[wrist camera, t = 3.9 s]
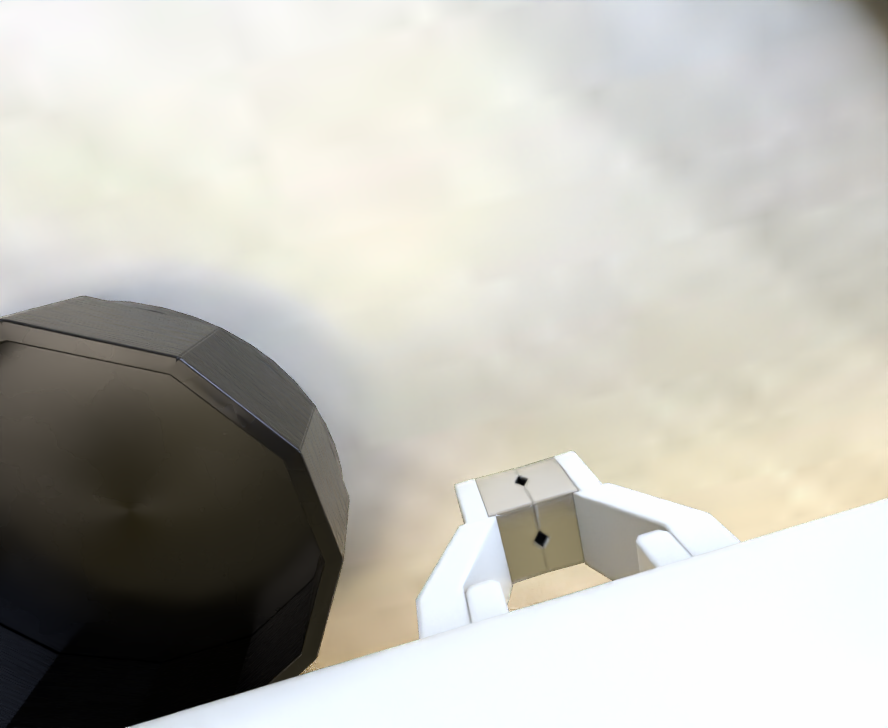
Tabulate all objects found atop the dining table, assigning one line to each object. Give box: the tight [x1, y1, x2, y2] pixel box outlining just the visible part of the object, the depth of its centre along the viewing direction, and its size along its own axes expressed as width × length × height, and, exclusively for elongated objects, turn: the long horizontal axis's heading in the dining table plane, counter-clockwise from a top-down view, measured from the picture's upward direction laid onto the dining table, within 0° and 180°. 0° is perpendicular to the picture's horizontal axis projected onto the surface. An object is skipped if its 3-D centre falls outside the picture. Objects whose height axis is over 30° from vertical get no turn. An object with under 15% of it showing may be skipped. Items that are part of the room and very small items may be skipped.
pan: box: [0, 296, 349, 728], centre depth 15 cm, size 21×13×4 cm, turn 14°
